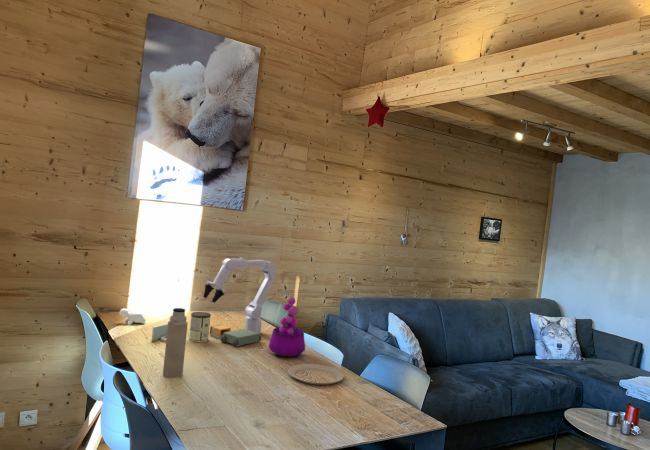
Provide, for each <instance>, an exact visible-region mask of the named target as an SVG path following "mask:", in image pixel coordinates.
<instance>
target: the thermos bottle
mask: <svg viewBox="0 0 650 450" xmlns="http://www.w3.org/2000/svg"><path fill="white" fill-rule="evenodd" d="M172 311H173V312H172V315H171V316H170V317H169V321H167V324H168V328H167V338H166V342H165V351H164V359H163V360H164V361H163V368H162V370H163V371H162V376H163V377H165V378H171V379H174V378H175V379H176V378H180V377H182V376H183V373H184V362H185V353H186V342H187V333H188V324H189V323H188V321H187V316H186V314H185V313H186V309H185V308H181V307H176V308H173V309H172Z"/></svg>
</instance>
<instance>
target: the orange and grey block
mask: <svg viewBox="0 0 650 450" xmlns="http://www.w3.org/2000/svg"><path fill="white" fill-rule="evenodd" d="M231 329H232V328H231V327H230V326H227V325H223V324H217V325H210V326H209V335H210V334H214V335H217V336H220V337H222V336H223V333H224V332H229V331H232V330H231Z"/></svg>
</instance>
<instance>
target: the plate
mask: <svg viewBox="0 0 650 450" xmlns="http://www.w3.org/2000/svg"><path fill="white" fill-rule="evenodd" d="M301 371H320V372H325V373H328V374H330V375H333V376H334V377H335V378H336V380H334V381H332V382H331V381H330V382H315V381H308V380H304V379H300V378H298V377H297V376H296V373H298V372H301ZM287 373H288V374H289V375H290V376H291V377H292V378H295V379H296V380H298V381H300V382H302V383H306V384H311V385H319V386H323V385H324V386H325V385H330V384H331V385H332V384H334V383H339V382H340V381H342V380H344V377H345V376H344V374H343V372H341V371H340V369H339V370H338V369H336V368H334V367H331V366H328V365H322V364H315V363H302V364H296V365H292V366H290V367H289V368H288V370H287Z"/></svg>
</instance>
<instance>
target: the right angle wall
mask: <svg viewBox="0 0 650 450" xmlns="http://www.w3.org/2000/svg"><path fill="white" fill-rule="evenodd" d="M167 328H168V323H165V324H160V325H157V326H153V327H152V335H151V342H155V341H157V340H158V341H159V340H160V341H161V342H162V343H166V338H167Z"/></svg>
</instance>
